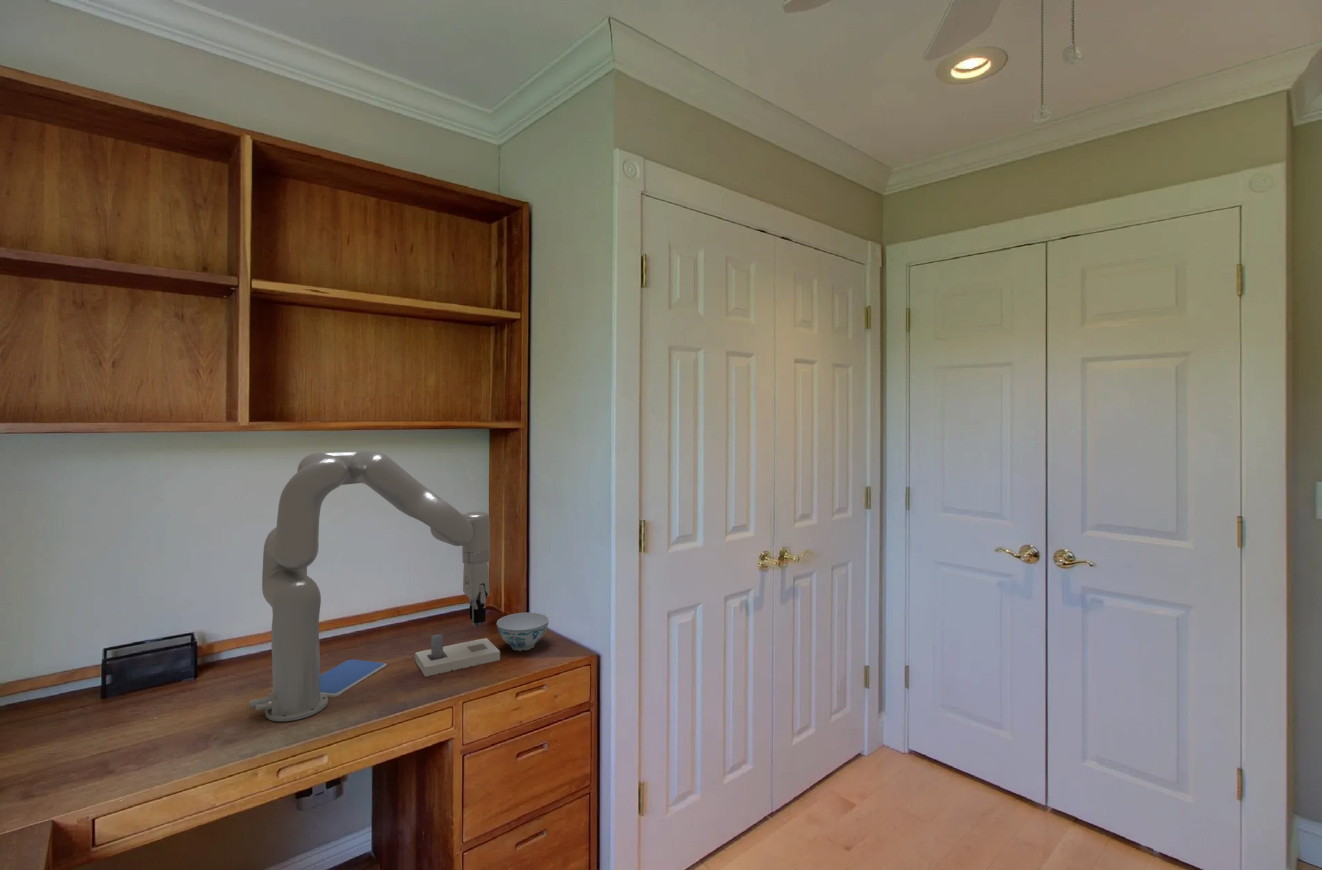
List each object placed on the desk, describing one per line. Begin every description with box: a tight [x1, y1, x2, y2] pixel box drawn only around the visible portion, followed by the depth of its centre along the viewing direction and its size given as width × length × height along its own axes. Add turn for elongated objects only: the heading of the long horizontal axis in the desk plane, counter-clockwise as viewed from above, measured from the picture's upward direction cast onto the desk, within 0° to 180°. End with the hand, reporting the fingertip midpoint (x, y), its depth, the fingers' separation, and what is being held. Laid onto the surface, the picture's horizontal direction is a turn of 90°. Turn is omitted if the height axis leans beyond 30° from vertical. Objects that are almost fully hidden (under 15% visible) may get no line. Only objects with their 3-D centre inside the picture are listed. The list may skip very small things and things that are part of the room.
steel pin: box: [471, 596, 484, 627], centre depth 175 cm, size 3×3×8 cm
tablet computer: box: [320, 659, 388, 698], centre depth 162 cm, size 19×13×1 cm, turn 166°
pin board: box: [414, 633, 501, 678], centre depth 173 cm, size 20×12×8 cm, turn 123°
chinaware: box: [496, 612, 550, 652], centre depth 183 cm, size 15×15×8 cm
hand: (477, 619), depth 176 cm, fingers closed on steel pin, 3 cm apart
